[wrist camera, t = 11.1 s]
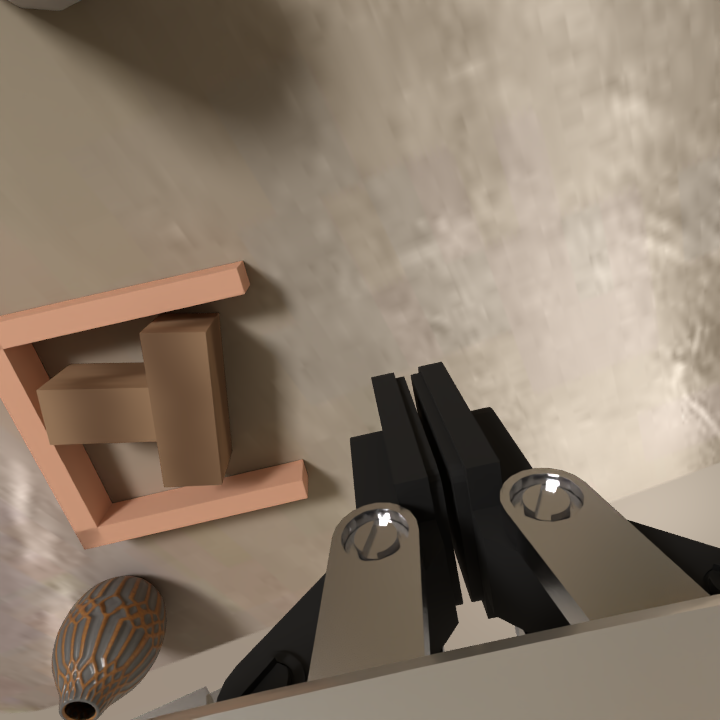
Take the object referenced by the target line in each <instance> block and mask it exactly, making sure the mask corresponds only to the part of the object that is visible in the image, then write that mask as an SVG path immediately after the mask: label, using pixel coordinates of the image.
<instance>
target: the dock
mask: <svg viewBox="0 0 720 720" xmlns="http://www.w3.org/2000/svg"><path fill="white" fill-rule="evenodd" d="M249 286H250V282H249V279H248V276H247V272H246V269H245V266H244V262H243V261H239V262H235V263H231V264H226V265H222V266H217V267H213V268H209V269H204V270H200V271H196V272H191V273H187V274H182V275H178V276H174V277H169V278H165V279H160V280H156V281H152V282H147V283H143V284H138V285H134V286H130V287H125V288H121V289H116V290H112V291H108V292H103V293H99V294H94V295H90V296H86V297H81V298H77V299H73V300H68V301H64V302H59V303H55V304H51V305H46V306H42V307H37V308H33V309H29V310H24V311H20V312H15V313H11V314H7V315H2V316H0V398H1V400H2V401H3V403H4V405H5V407H6V409H7V410H8V412H9V414H10V416H11V418H12V419H13V421H14V423H15V425H16V427H17V428H18V430H19V432H20V434H21V436H22V437H23V439H24V441H25V443H26V445H27V446H28V448H29V450H30V452H31V454H32V455H33V457H34V459H35V461H36V463H37V464H38V466H39V468H40V470H41V472H42V474H43V475H44V477H45V479H46V481H47V483H48V484H49V486H50V488H51V490H52V492H53V493H54V495H55V497H56V499H57V501H58V502H59V504H60V506H61V508H62V510H63V511H64V513H65V515H66V517H67V519H68V520H69V522H70V524H71V526H72V528H73V529H74V531H75V533H76V535H77V537H78V538H79V540H80V542H81V544H82V546H83V547H84V549H89V548H94V547H98V546H102V545H107V544H111V543H115V542H120V541H124V540H128V539H133V538H137V537H141V536H146V535H150V534H154V533H159V532H163V531H167V530H172V529H176V528H180V527H184V526H189V525H193V524H197V523H202V522H206V521H210V520H215V519H219V518H223V517H228V516H232V515H236V514H241V513H245V512H249V511H254V510H258V509H262V508H267V507H271V506H275V505H280V504H284V503H288V502H292V501H297V500H301V499H305V498H308V475H307V471H306V468H305V465H304V461H303V459H302V460H298V461H294V462H289V463H285V464H281V465H276V466H272V467H268V468H263V469H259V470H255V471H250V472H246V473H242V474H237V475H233V476H229V477H224V480H223V483H222V485H207V486H185V487H181V488H177V489H172V490H168V491H164V492H159V493H155V494H151V495H147V496H142V497H138V498H134V499H129V500H125V501H121V502H116V503H112V502H111V500H110V498H109V496H108V494H107V492H106V490H105V488H104V486H103V484H102V482H101V480H100V478H99V476H98V474H97V472H96V470H95V468H94V466H93V464H92V462H91V460H90V458H89V456H88V454H87V452H86V450H85V448H84V446H83V444H68V445H50V443H49V439H48V435H47V431H46V427H45V423H44V419H43V415H42V411H41V407H40V404H39V400H38V396H37V392H36V390H37V389H39V388H40V387H41V386H42V385H44V384H45V383H46V382H48V381H49V380H50V379H49V377H48V375H47V373H46V371H45V369H44V367H43V365H42V363H41V361H40V359H39V357H38V355H37V353H36V351H35V349H34V347H33V345H32V342H36V341H41V340H45V339H49V338H54V337H58V336H63V335H67V334H71V333H76V332H80V331H84V330H89V329H93V328H98V327H102V326H106V325H111V324H115V323H120V322H124V321H128V320H133V319H137V318H141V317H146V316H150V315H155V314H159V313H163V312H168V311H172V310H176V309H181V308H185V307H190V306H194V305H198V304H203V303H207V302H212V301H216V300H220V299H225V298H229V297H233V296H238V295H242V294H245V293H246V291H247V289H248V287H249Z"/></svg>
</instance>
